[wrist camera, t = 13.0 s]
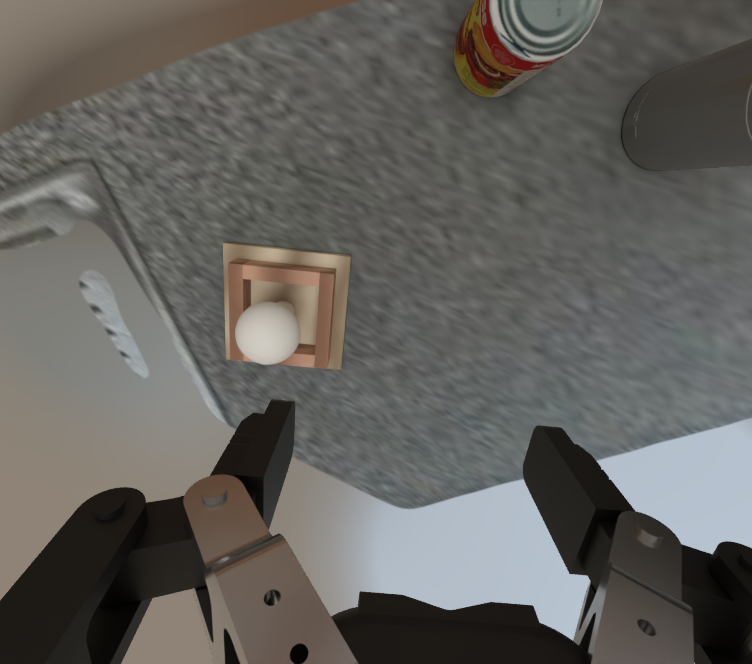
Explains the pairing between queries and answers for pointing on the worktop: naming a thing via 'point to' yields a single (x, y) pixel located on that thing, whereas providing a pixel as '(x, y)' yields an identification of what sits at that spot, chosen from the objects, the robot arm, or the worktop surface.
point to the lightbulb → (268, 332)
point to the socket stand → (290, 297)
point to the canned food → (517, 40)
